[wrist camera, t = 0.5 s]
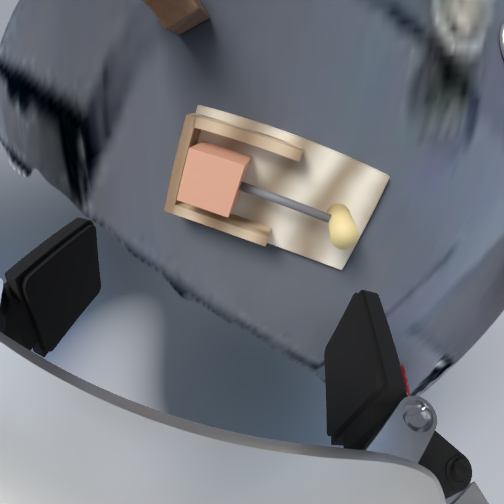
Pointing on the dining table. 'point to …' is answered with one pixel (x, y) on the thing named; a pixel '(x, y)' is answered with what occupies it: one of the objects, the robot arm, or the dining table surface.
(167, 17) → the wooden block
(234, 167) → the toy mallet
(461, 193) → the dining table surface
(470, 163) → the dining table surface
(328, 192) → the shelf lane
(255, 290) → the dining table surface
